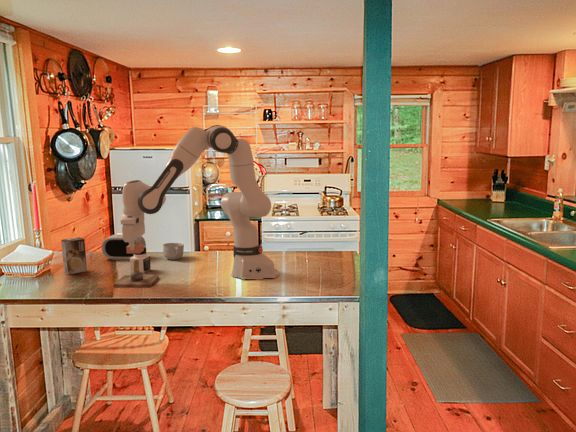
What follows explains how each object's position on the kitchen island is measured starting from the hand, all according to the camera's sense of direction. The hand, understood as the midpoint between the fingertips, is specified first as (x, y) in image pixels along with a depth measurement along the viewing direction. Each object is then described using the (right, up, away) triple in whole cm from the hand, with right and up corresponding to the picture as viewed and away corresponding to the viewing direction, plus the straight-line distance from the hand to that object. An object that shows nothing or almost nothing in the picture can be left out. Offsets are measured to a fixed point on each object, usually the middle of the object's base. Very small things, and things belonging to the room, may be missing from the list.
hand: (135, 248), depth 223 cm
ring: (0, -2, 0) cm, 2 cm away
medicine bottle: (-4, -13, +21) cm, 25 cm away
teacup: (+7, -9, +44) cm, 46 cm away
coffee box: (-35, -13, +20) cm, 42 cm away
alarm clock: (-20, -9, +46) cm, 50 cm away
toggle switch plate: (0, -16, +3) cm, 16 cm away
